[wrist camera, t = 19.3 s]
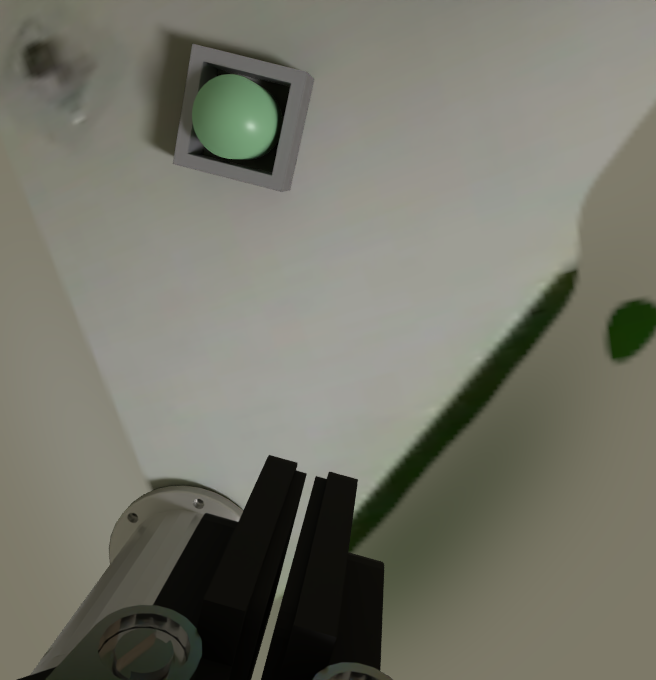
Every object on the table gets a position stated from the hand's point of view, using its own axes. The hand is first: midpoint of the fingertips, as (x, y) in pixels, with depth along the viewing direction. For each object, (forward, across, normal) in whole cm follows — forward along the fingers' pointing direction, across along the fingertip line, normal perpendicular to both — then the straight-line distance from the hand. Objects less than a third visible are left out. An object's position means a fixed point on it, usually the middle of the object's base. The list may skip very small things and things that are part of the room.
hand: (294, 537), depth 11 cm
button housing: (+32, +10, -7) cm, 34 cm away
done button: (+31, +10, -7) cm, 34 cm away
